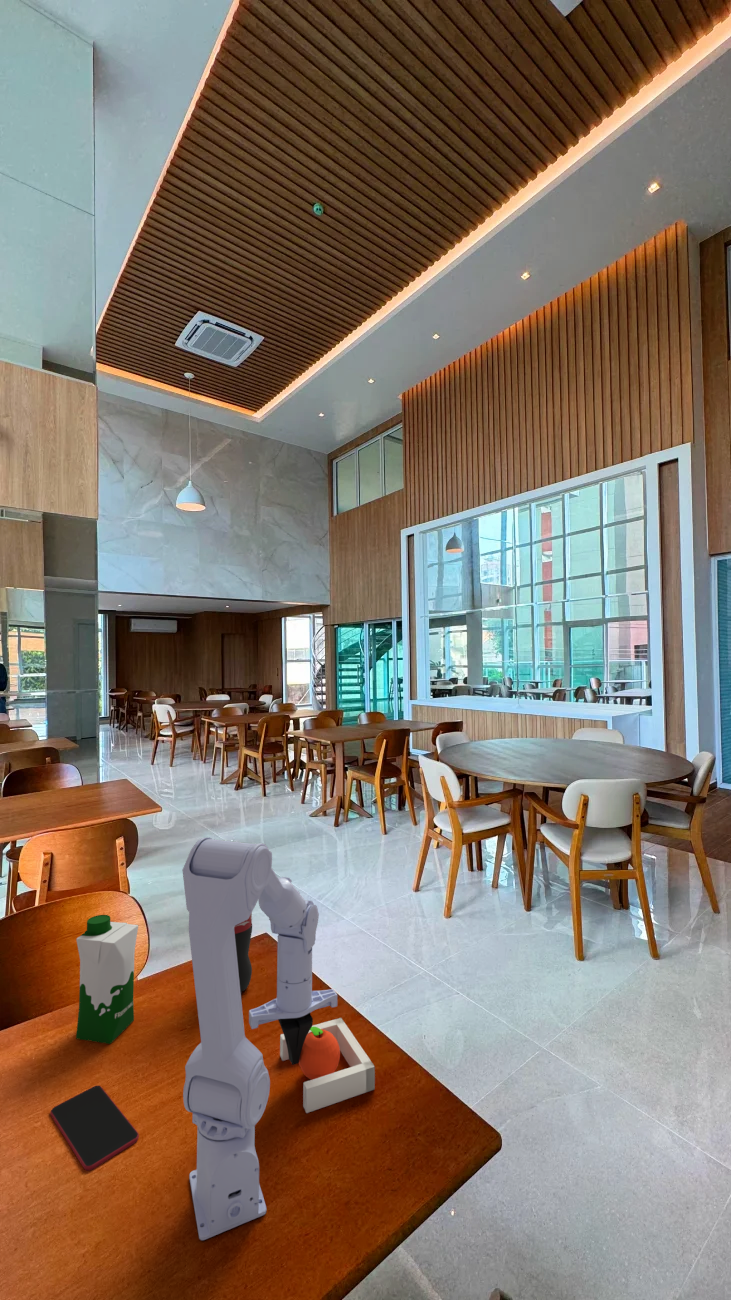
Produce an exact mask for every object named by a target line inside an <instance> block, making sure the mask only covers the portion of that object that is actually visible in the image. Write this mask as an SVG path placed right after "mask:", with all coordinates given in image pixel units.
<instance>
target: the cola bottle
mask: <svg viewBox="0 0 731 1300" xmlns="http://www.w3.org/2000/svg"><path fill="white" fill-rule="evenodd" d="M252 914H253V912H252V913H251V915H250V917H249V919H247V920H245V921H243V922H241V923H239V924H237V925H235V927H234V932H235V942H236V952H237V962H238V972H239V982H240V992H241V993H243V992H244V991H246V989H248V987H249V985H250V983H251V979H252V973H253V968H252V967H253V966H252V963H251V960H250V959H251V958H250V957H249V956H250V955H249V951H250V946H251V940H252V932H253V923H252V922H253V916H252ZM242 991H243V992H242Z"/></svg>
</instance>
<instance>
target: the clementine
mask: <svg viewBox="0 0 731 1300" xmlns="http://www.w3.org/2000/svg"><path fill="white" fill-rule="evenodd" d="M310 1030H311V1031H312V1032H310V1033H309V1034H307V1036H306V1038H305V1041H304V1044H303V1047H302V1050H301V1054H300V1059H299V1063H298V1065H299V1067H300V1070H301V1072H302V1073H303V1075H304V1076H305V1077H306V1078H308V1079H309V1080H313V1079H316V1078H319V1077H322V1076H325V1075H328V1074H331V1073H334V1072H337V1071H336V1070H337V1068H338V1066H339V1063H340V1059H341V1051H340V1047H339V1044H338V1042H337V1039H336V1038H335V1037H334V1036H333V1034H332V1033H330V1032H329V1031H326V1030H323V1029H319V1028H318V1027H311V1029H310Z"/></svg>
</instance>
